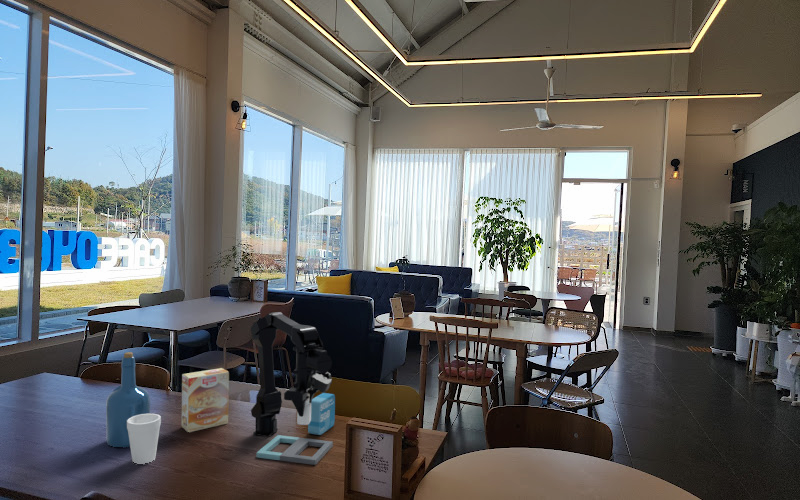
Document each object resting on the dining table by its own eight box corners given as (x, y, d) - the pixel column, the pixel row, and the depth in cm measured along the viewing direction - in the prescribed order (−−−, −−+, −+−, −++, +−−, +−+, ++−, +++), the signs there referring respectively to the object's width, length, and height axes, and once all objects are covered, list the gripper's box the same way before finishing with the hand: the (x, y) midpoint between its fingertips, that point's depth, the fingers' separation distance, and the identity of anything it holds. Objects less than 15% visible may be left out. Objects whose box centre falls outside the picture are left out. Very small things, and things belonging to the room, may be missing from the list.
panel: (256, 457, 171) (256, 452, 171) (277, 439, 186) (277, 435, 186) (315, 464, 167) (315, 460, 166) (332, 446, 181) (332, 441, 181)
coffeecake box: (188, 433, 190) (188, 378, 189) (180, 427, 195) (181, 373, 194) (229, 423, 200) (229, 371, 199) (221, 418, 205) (221, 367, 204)
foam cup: (127, 469, 161) (127, 426, 161) (126, 457, 169) (126, 416, 169) (161, 463, 166) (161, 421, 165) (159, 451, 174) (159, 411, 173)
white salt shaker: (309, 425, 173) (309, 396, 173) (296, 425, 173) (297, 395, 173) (311, 420, 177) (312, 392, 177) (299, 420, 177) (299, 391, 177)
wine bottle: (156, 441, 182) (156, 353, 180) (114, 453, 172) (114, 359, 171) (140, 430, 191) (140, 346, 190) (99, 440, 181) (99, 352, 180)
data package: (318, 436, 189) (319, 402, 188) (307, 434, 190) (308, 401, 190) (334, 425, 200) (335, 393, 200) (324, 423, 202) (324, 391, 201)
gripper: (317, 376, 163) (316, 427, 164) (338, 361, 181) (337, 407, 182) (283, 373, 166) (282, 423, 167) (307, 358, 184) (306, 403, 185)
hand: (304, 413), depth 175 cm, fingers closed on white salt shaker, 4 cm apart
